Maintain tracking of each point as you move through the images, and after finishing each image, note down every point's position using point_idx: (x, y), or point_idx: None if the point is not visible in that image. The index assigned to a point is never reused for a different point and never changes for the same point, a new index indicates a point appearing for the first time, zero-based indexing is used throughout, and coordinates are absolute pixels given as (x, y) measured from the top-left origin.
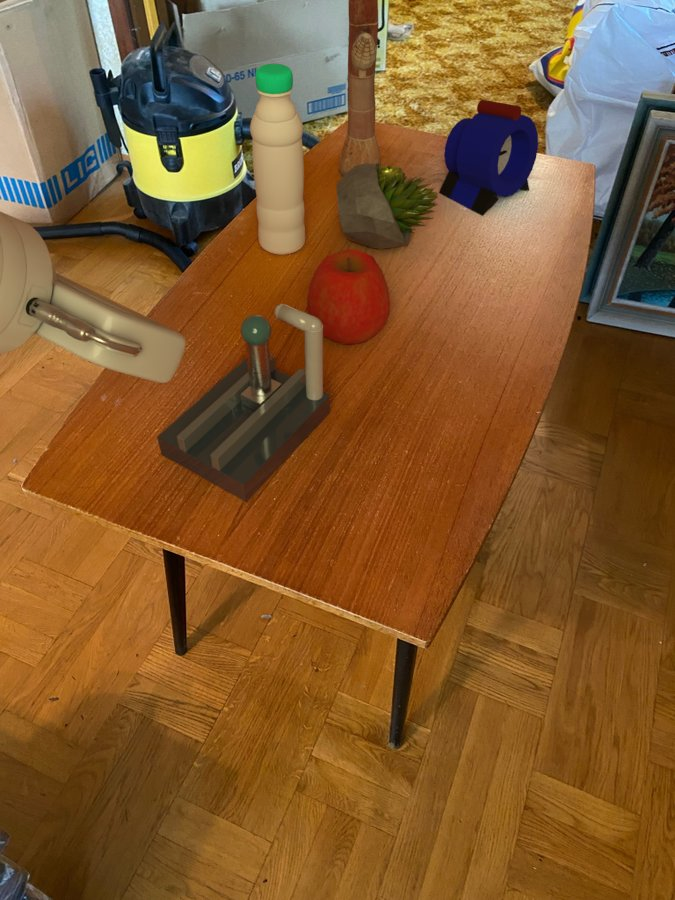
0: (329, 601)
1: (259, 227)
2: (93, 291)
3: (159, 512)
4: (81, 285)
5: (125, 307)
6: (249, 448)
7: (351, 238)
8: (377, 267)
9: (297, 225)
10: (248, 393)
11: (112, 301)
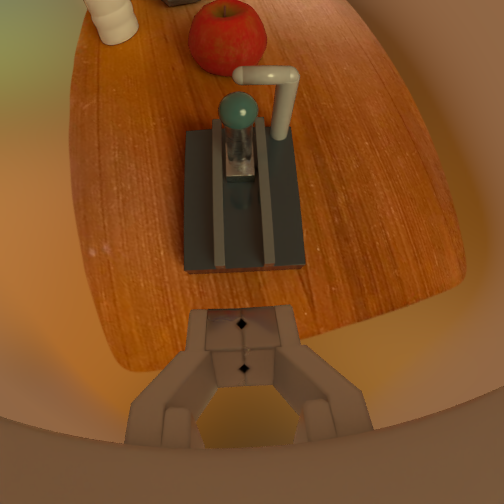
0: (415, 302)
1: (101, 32)
2: (331, 486)
3: None
4: (245, 488)
5: (496, 446)
6: (276, 224)
7: (174, 3)
8: (248, 5)
9: (131, 14)
10: (233, 170)
11: (459, 473)
